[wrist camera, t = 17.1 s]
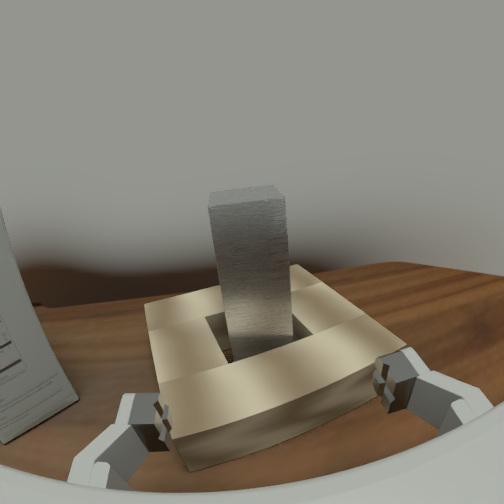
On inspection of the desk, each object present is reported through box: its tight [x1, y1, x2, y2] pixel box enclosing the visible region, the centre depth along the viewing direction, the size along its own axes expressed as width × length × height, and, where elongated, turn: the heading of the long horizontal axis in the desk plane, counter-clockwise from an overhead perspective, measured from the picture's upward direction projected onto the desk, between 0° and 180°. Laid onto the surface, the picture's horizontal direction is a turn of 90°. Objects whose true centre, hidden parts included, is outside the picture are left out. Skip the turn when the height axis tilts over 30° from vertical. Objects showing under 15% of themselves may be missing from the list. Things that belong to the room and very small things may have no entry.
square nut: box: [144, 264, 407, 472], centre depth 24 cm, size 16×16×4 cm
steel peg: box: [208, 185, 293, 362], centre depth 22 cm, size 4×4×14 cm
